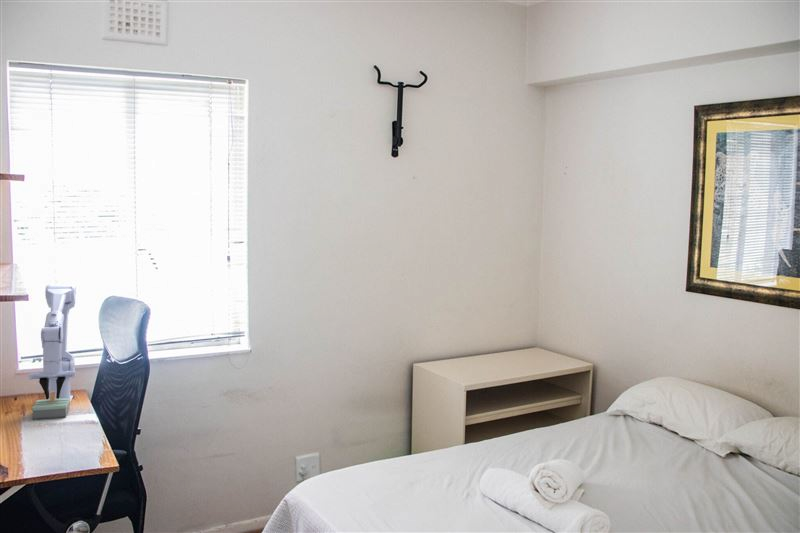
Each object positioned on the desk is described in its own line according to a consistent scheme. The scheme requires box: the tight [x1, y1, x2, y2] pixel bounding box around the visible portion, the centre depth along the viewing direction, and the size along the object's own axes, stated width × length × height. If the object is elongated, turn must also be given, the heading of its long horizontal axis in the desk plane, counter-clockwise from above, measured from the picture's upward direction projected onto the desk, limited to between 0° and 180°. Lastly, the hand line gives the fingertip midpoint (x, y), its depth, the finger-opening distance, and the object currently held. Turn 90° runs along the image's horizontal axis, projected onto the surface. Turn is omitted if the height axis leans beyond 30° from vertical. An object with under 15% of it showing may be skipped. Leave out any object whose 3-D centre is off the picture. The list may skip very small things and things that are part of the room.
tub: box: [32, 402, 71, 421], centre depth 229 cm, size 10×10×3 cm
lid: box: [31, 391, 71, 412], centre depth 229 cm, size 10×10×5 cm
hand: (52, 398), depth 232 cm, fingers open, 3 cm apart
